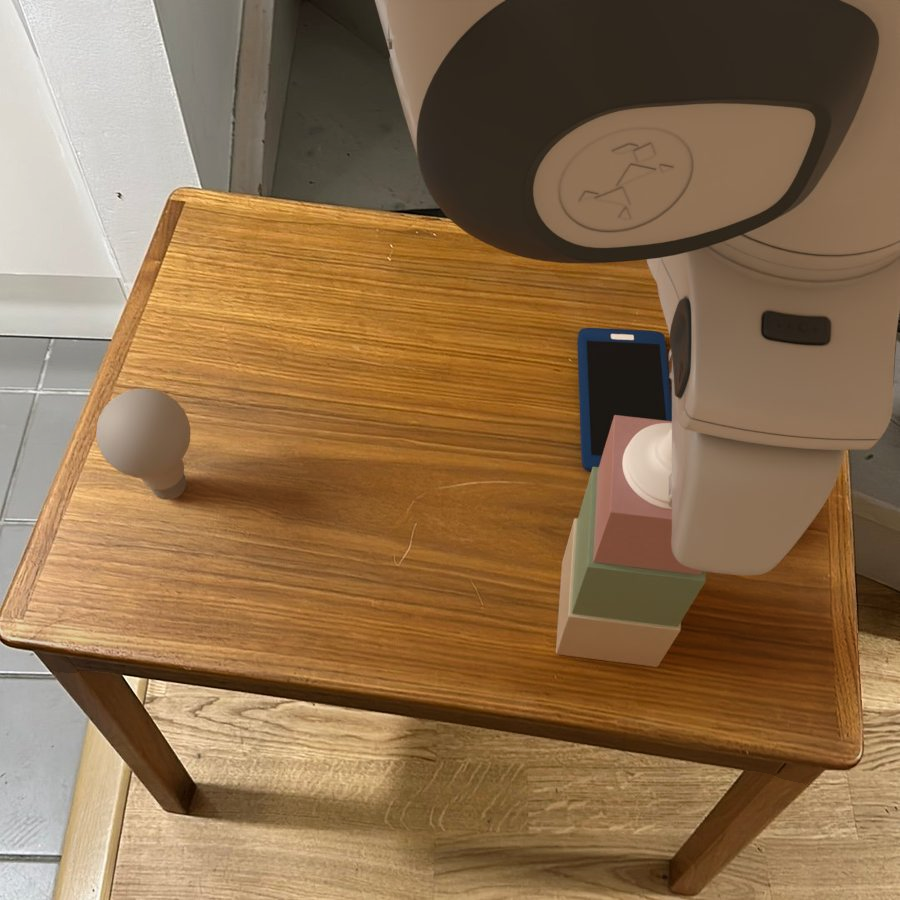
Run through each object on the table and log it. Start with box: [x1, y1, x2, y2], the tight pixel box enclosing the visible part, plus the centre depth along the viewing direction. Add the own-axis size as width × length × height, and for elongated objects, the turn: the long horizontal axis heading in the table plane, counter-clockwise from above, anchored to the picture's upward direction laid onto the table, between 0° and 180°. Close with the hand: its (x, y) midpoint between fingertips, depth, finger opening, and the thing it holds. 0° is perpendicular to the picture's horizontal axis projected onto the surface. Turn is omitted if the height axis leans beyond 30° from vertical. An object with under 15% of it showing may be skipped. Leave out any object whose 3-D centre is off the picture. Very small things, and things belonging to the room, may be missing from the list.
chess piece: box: [622, 423, 672, 509], centre depth 44 cm, size 5×5×10 cm
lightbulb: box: [95, 387, 191, 501], centre depth 65 cm, size 6×6×11 cm
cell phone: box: [576, 327, 672, 473], centre depth 74 cm, size 7×14×1 cm, turn 177°
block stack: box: [555, 415, 707, 668], centre depth 57 cm, size 7×7×20 cm
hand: (685, 431), depth 45 cm, fingers open, 6 cm apart
